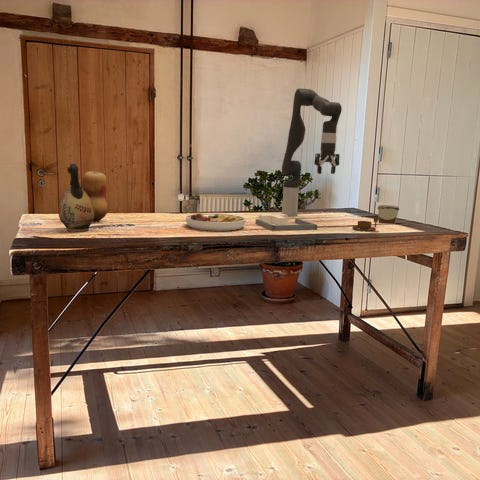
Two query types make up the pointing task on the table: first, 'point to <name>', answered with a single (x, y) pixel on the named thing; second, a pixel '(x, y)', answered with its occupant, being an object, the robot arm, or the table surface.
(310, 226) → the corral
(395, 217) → the food container
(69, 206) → the ceramic jug
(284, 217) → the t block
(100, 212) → the brown hourglass-shaped piece
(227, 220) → the bowl
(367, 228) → the place setting
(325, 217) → the table surface
